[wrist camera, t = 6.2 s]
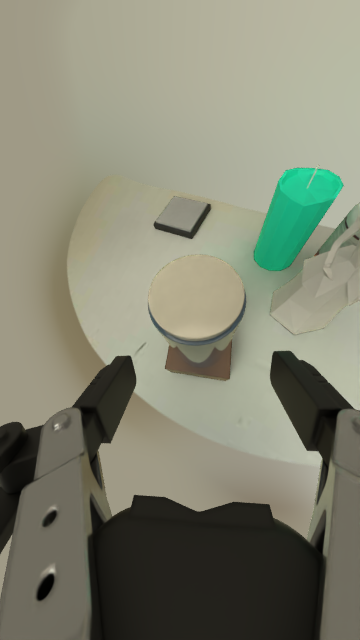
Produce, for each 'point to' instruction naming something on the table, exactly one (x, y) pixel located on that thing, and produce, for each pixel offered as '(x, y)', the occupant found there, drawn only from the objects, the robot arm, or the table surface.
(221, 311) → the canister
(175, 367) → the block
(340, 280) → the figurine
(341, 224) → the pill bottle
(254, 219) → the table surface
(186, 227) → the scale
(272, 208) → the candle
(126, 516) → the robot arm
